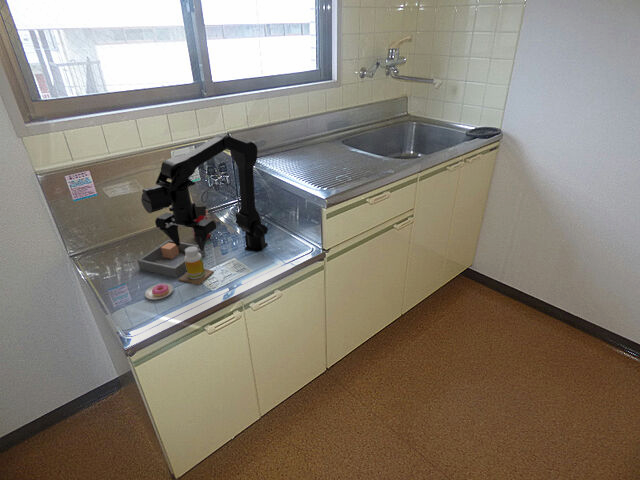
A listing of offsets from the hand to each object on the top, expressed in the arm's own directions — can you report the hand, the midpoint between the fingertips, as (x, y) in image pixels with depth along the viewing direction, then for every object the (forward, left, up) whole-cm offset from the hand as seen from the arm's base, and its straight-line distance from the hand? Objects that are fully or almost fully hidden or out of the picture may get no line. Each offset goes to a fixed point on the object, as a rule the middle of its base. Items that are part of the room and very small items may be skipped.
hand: (190, 247), depth 123 cm
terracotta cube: (+17, -9, -11) cm, 22 cm away
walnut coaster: (0, 0, -11) cm, 11 cm away
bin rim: (+13, -5, -11) cm, 18 cm away
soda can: (+15, -24, -11) cm, 31 cm away
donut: (+6, +11, -12) cm, 17 cm away
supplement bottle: (0, 0, -11) cm, 11 cm away
